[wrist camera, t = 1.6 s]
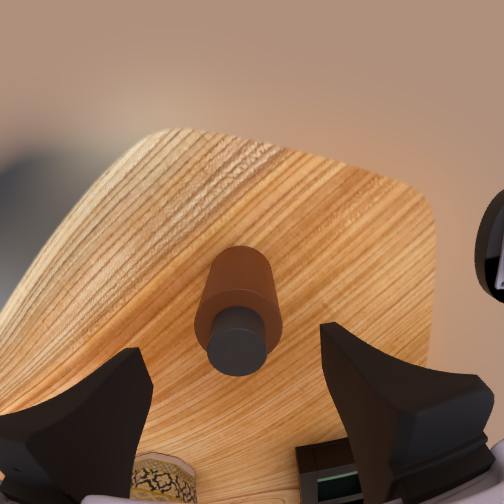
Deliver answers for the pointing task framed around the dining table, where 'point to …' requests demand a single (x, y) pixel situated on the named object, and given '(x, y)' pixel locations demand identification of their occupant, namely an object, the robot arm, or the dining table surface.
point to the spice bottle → (239, 312)
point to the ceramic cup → (162, 479)
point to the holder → (328, 474)
